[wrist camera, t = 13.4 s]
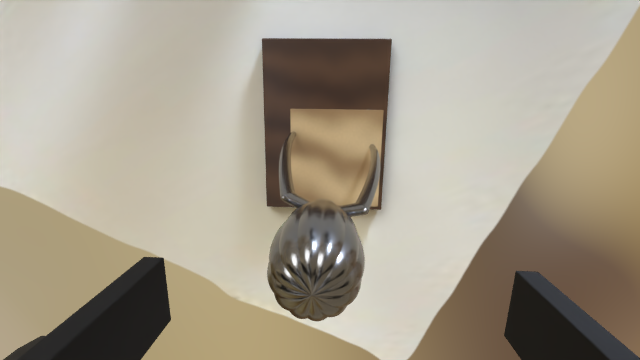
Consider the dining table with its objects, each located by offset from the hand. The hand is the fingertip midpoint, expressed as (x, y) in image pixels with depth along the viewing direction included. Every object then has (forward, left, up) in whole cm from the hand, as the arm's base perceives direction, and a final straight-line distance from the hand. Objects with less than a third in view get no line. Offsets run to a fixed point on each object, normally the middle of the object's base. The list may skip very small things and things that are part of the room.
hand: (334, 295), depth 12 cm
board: (-4, -2, -33) cm, 33 cm away
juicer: (0, 0, -31) cm, 31 cm away
